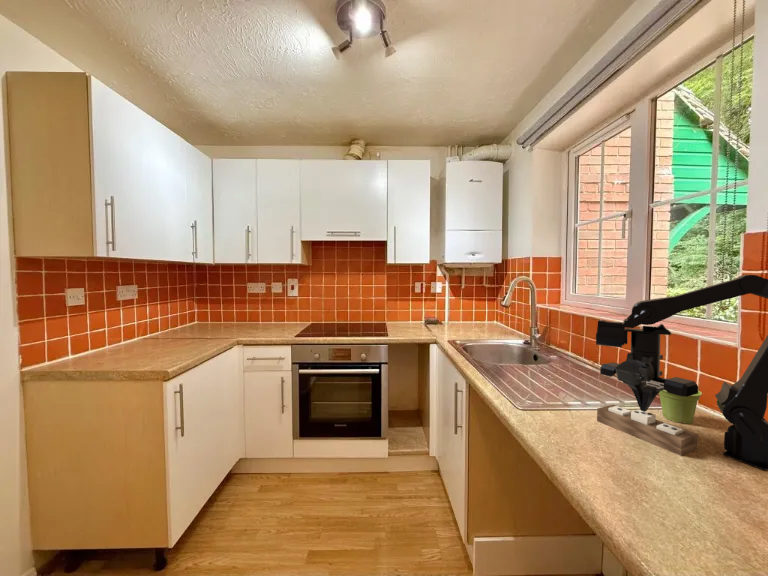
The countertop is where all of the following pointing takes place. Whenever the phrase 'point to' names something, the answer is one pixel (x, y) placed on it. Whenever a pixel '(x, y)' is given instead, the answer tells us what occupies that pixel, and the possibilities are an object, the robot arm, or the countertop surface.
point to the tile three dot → (643, 417)
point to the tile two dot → (670, 429)
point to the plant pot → (679, 406)
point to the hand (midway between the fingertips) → (643, 410)
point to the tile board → (649, 432)
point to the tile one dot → (619, 410)
